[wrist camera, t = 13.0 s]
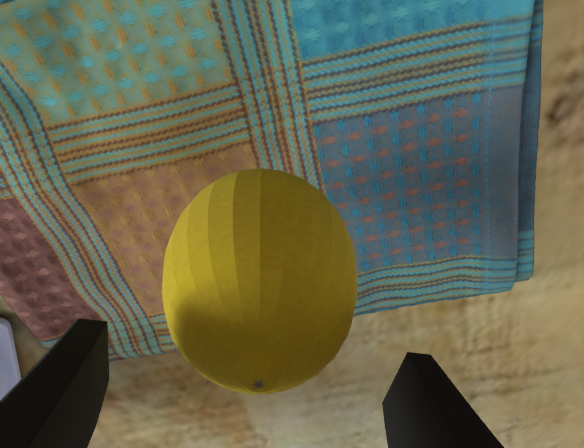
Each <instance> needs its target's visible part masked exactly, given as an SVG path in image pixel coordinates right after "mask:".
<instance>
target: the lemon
mask: <svg viewBox="0 0 584 448" xmlns="http://www.w3.org/2000/svg"><path fill="white" fill-rule="evenodd" d="M162 297H163V306H164V312H165V316H166V320H167V323H168V327H169V331H170V334H171V337H172V339H173V341H174V342H175V344H176V346H177V347H178V349H179V350H180V352H181V354H182V355H183V357H184V358H185V360H186V361H187V362H188V363H189V364H190V365H191V366H192V367H193V368H195V369H196V370H197V371H198V372H199V373H200V374H201V375H203V376H204V377H205V378H207V379H209V380H211V381H212V382H214V383H216V384H218V385H220V386H222V387H223V388H227V389H230V390H233V391H236V392H241V393H249V394H270V393H275V392H281V391H285V390H288V389H290V388H293V387H296V386H298V385H300V384H302V383H303V382H305V381H307V380H308V379H310V378H312V377H313V376H315V375H317V374H318V373H319V372H320V371H321V370H322V369H323V368H324V367H325V366H326V365H327V364H328V363H329V362H330V361H331V360H332V359H333V358H334V357H335V356H336V354H337V352H338V351H339V349H340V347H341V346H342V344H343V342H344V341H345V339H346V337H347V335H348V333H349V330H350V327H351V323H352V319H353V314H354V310H355V305H356V300H357V270H356V260H355V252H354V247H353V243H352V240H351V238H350V235H349V233H348V231H347V229H346V226H345V224H344V222H343V220H342V218H341V216H340V214H339V212H338V211H337V209H336V208H335V207H334V206H333V205H332V204H331V202H330V201H329V200H328V199H327V198H326V197H325V195H324V194H323V193H322V192H321V191H320V190H318V189H317V188H316V187H314V186H313V185H311V184H310V183H308V182H307V181H305V180H304V179H302V178H300V177H298V176H295V175H292V174H290V173H287V172H284V171H281V170H273V169H265V168H258V169H248V170H240V171H238V172H235V173H232V174H229V175H226V176H224V177H221V178H219V179H218V180H216V181H215V182H213V183H212V184H210V185H209V186H207V187H206V188H204V189H203V190H202V191H201V192H199V193H198V194H197V196H196V197H195V198H194V199H193V200H192V201H191V203H190V204H189V205H188V206H187V207H186V208H185V210H184V211H183V212H182V214H181V215H180V217H179V219H178V221H177V223H176V226H175V228H174V230H173V232H172V235H171V237H170V239H169V242H168V245H167V248H166V252H165V258H164V268H163V281H162Z"/></svg>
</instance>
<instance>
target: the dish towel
mask: <svg viewBox="0 0 584 448" xmlns="http://www.w3.org/2000/svg"><path fill="white" fill-rule="evenodd" d="M542 30H543V0H0V295H1V296H3V297H4V298H5V299H6V301H7V304H8V306H9V307H10V308H11V309H13V310H14V311H15V312H16V313H17V314H18V316H19V318H20V320H21V321H22V322H23V323H24V324H25V325H27V326H28V327H29V328H30V330H31V332H32V334H33V335H34V336H35V337H36V338H37V339H39V341H40V342H41V343H42V345H43V346H44V347H45V349H46V350H47V352H48V351H49V350H50V348H51V347H52V346H53V345H54V344H55V343H56V342H57V341H58V340H59V338H60V337H61V336H62V335H63V334H64V333H65V332H66V331H67V329H68V328H69V327H70V326H71V325H72V324H73V322H74V321H76V320H78V319H79V318H80V319H90V320H100V321H108V353H109V362H111V361H116V360H122V359H127V358H136V357H143V356H149V355H156V354H162V353H168V352H174V351H179V349H178V347H177V346H176V344H175V342H174V341H173V339H172V337H171V334H170V331H169V327H168V323H167V320H166V316H165V312H164V306H163V297H162V281H163V268H164V258H165V252H166V248H167V245H168V242H169V239H170V237H171V235H172V232H173V230H174V228H175V226H176V223H177V221H178V219H179V217H180V215H181V214H182V212H183V211H184V210H185V208H186V207H187V206H188V205H189V204H190V203H191V201H192V200H193V199H194V198H195V197H196V196H197V194H198V193H199V192H201V191H202V190H203V189H204V188H206V187H207V186H209V185H210V184H212V183H213V182H215V181H216V180H218V179H219V178H221V177H224V176H226V175H229V174H232V173H235V172H238V171H240V170H248V169H258V168H265V169H273V170H281V171H284V172H287V173H290V174H292V175H295V176H298V177H300V178H302V179H304V180H305V181H307V182H308V183H310V184H311V185H313V186H314V187H316V188H317V189H318V190H320V191H321V192H322V193H323V194H324V195H325V197H326V198H327V199H328V200H329V201H330V202H331V204H332V205H333V206H334V207H335V208H336V209H337V211H338V212H339V214H340V216H341V218H342V220H343V222H344V224H345V226H346V229H347V231H348V233H349V235H350V238H351V240H352V243H353V247H354V252H355V260H356V270H357V300H356V305H355V310H354V314H353V316H356V315H359V314H367V313H374V312H377V311H383V310H388V309H395V308H398V307H403V306H414V305H417V304H422V303H429V302H436V301H441V300H454V299H459V298H464V297H472V296H478V295H483V294H492V293H499V292H505V291H510V290H511V289H512V287H513V285H514V283H515V282H519V281H524V280H528V279H530V277H532V276H533V269H534V204H535V180H536V161H537V147H538V128H539V118H540V99H541V46H542Z"/></svg>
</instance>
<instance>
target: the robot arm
mask: <svg viewBox="0 0 584 448" xmlns="http://www.w3.org/2000/svg"><path fill="white" fill-rule="evenodd" d="M108 383H109V353H108V321H100V320H90V319H80V318H79V319H78V320H76V321H74V322H73V324H72V325H71V326H70V327H69V328H68V329H67V331H66V332H65V333H64V334H63V335H62V336H61V337H60V338H59V340H58V341H57V342H56V343H55V344H54V345H53V346H52V347H51V348H50V350H49V351H48V352H47V353H46V354H45V355H44V356H43V357H42V358H41V359H40V360H39V361H38V362H37V363H36V365H35V366H34V367H33V368H32V369H31V370H30V371H29V372H28V373H27V374H26V375H25V376H24V377H23V378H22V379H21V375H20V369H19V364H18V359H17V354H16V348H15V343H14V338H13V333H12V327H11V324H10V322H9V321H7V320H6V319H4V318H0V448H87V447H88V444H89V442H90V439H91V437H92V434H93V432H94V429H95V427H96V424H97V421H98V417H99V414H100V411H101V407H102V404H103V400H104V397H105V393H106V390H107V386H108ZM382 405H383V413H384V422H385V429H386V436H387V442H388V448H504V447H503V446H502V445H501V443H500V442H499V441H498V440H497V439H496V437H495V436H494V435H493V434H492V432H491V431H490V430H489V429H488V427H487V426H486V425H485V424H484V423H483V421H482V420H481V419H480V418H479V416H478V415H477V414H476V412H475V411H474V410H473V409H472V407H471V406H470V405H469V404H468V402H467V401H466V400H465V398H464V397H463V396H462V395H461V393H460V392H459V391H458V389H457V388H456V387H455V386H454V384H453V383H452V382H451V380H450V379H449V378H448V376H447V375H446V374H445V373H444V371H443V370H442V369H441V367H440V366H439V365H438V364H437V362H436V361H435V360H434V359H433V357H432V356H431V355H429V354H419V353H410V352H407V354H406V356H405V358H404V360H403V362H402V364H401V366H400V368H399V370H398V372H397V374H396V376H395V378H394V380H393V382H392V384H391V386H390V388H389V390H388V392H387V394H386V396H385V398H384V400H383V402H382Z"/></svg>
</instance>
